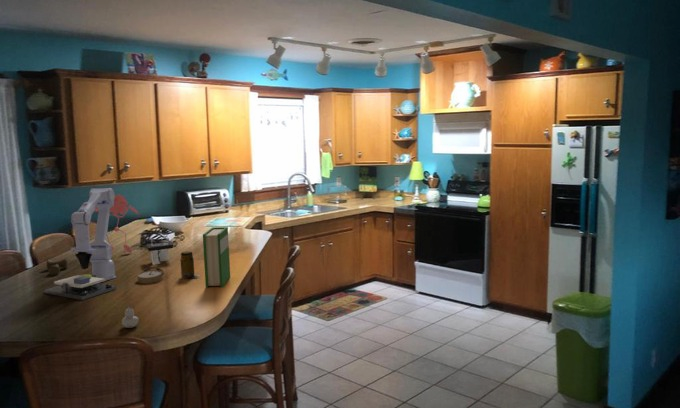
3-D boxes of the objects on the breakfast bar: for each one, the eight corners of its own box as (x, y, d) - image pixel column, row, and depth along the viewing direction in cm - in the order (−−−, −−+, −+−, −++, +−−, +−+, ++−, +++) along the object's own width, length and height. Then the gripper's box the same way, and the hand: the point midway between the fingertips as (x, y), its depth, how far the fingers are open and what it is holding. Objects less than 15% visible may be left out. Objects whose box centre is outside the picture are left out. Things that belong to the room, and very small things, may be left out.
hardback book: (222, 287, 238) (219, 234, 234) (205, 287, 237) (202, 234, 234) (230, 276, 255) (227, 227, 252) (214, 277, 255) (212, 227, 252)
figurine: (138, 255, 305) (134, 194, 301) (93, 256, 306) (88, 195, 302) (148, 250, 320) (144, 192, 317) (105, 251, 321) (101, 193, 317)
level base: (44, 293, 235) (43, 280, 234) (79, 283, 250) (78, 271, 249) (82, 300, 223) (81, 287, 222) (116, 289, 238) (115, 277, 237)
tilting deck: (54, 283, 235) (53, 277, 234) (78, 277, 245) (78, 270, 245) (81, 288, 226) (80, 281, 226) (105, 280, 237) (104, 274, 236)
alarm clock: (133, 278, 245) (142, 265, 260) (135, 288, 247) (144, 274, 261) (158, 277, 246) (166, 264, 260) (159, 287, 248) (167, 273, 262)
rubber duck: (120, 330, 187) (118, 308, 186) (124, 324, 193) (123, 302, 192) (136, 329, 188) (135, 307, 187) (140, 322, 194) (138, 301, 193)
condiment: (183, 275, 260) (181, 250, 259) (200, 274, 260) (199, 250, 258) (178, 279, 253) (177, 254, 251) (196, 278, 253) (195, 253, 251)
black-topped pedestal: (134, 272, 270) (132, 246, 268) (132, 261, 293) (130, 237, 292) (191, 265, 281) (190, 240, 279) (184, 255, 305) (183, 232, 303)
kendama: (43, 277, 263) (49, 267, 282) (65, 276, 267) (69, 266, 285) (42, 266, 262) (48, 256, 281) (64, 264, 266) (68, 255, 284)
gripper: (63, 239, 236) (66, 269, 238) (85, 241, 229) (87, 272, 231) (78, 236, 242) (80, 265, 244) (99, 238, 236) (102, 268, 237)
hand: (85, 268), depth 238 cm, fingers closed
